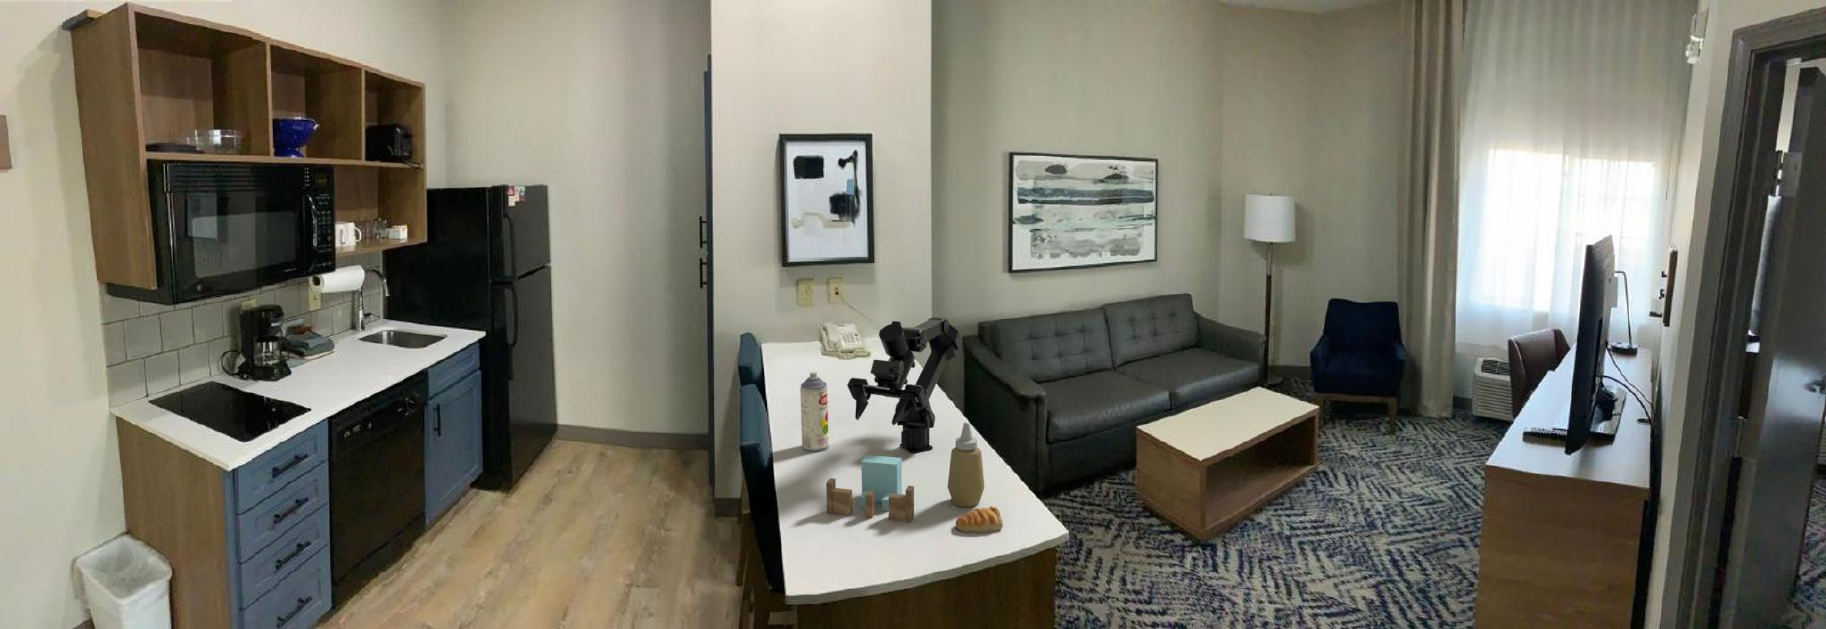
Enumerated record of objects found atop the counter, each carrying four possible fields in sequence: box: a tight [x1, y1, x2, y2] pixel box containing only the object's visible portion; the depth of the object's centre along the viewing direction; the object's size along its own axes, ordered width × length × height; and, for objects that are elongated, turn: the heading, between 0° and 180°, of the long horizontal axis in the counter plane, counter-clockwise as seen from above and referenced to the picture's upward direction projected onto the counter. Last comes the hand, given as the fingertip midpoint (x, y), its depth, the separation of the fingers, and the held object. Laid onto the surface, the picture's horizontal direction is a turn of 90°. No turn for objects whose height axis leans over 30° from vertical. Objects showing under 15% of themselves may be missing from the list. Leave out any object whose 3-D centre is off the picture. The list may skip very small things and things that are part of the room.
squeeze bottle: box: [947, 422, 985, 508], centre depth 177 cm, size 8×8×18 cm
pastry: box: [955, 505, 1004, 534], centre depth 167 cm, size 9×7×4 cm
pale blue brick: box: [859, 454, 903, 512], centre depth 178 cm, size 8×8×9 cm
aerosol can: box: [799, 371, 830, 453], centre depth 210 cm, size 7×7×20 cm
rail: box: [825, 477, 915, 523], centre depth 172 cm, size 2×18×7 cm, turn 76°
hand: (874, 421), depth 187 cm, fingers open, 9 cm apart
